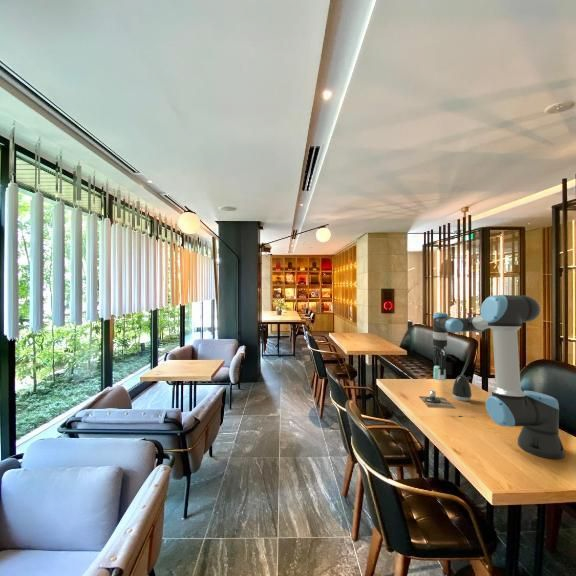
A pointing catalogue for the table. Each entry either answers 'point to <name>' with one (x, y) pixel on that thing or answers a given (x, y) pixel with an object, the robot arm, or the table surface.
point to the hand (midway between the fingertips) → (439, 378)
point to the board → (442, 404)
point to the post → (432, 398)
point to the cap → (436, 373)
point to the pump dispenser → (462, 388)
